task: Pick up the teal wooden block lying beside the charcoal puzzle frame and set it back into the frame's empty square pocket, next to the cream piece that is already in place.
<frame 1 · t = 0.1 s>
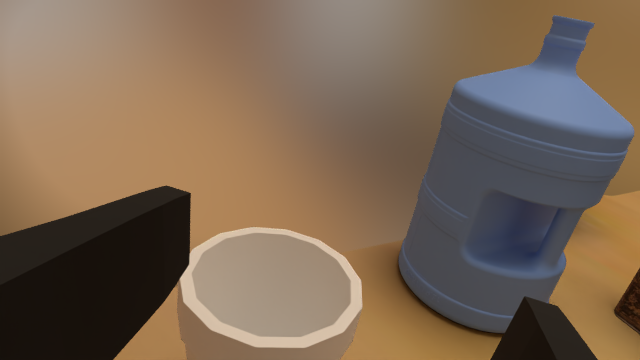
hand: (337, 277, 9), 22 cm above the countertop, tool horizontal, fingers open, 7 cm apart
water jug: (465, 285, 48), on the countertop
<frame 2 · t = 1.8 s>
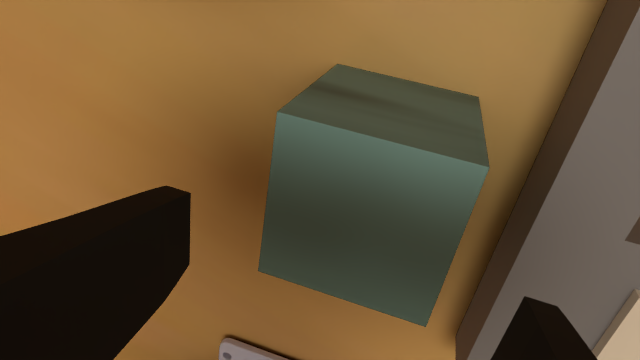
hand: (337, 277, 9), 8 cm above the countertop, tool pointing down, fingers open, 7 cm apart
block: (389, 144, 16), on the countertop
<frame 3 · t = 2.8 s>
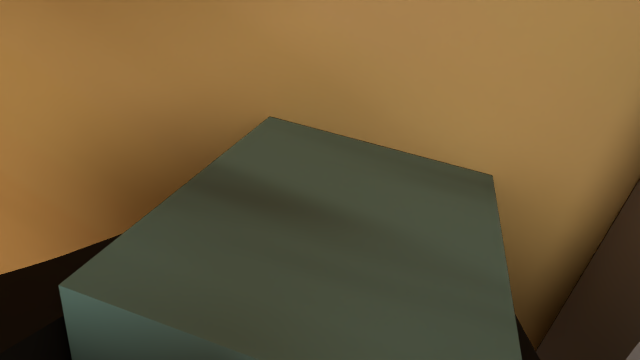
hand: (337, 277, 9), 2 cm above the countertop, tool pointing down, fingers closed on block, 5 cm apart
block: (353, 236, 11), on the countertop, touching gripper
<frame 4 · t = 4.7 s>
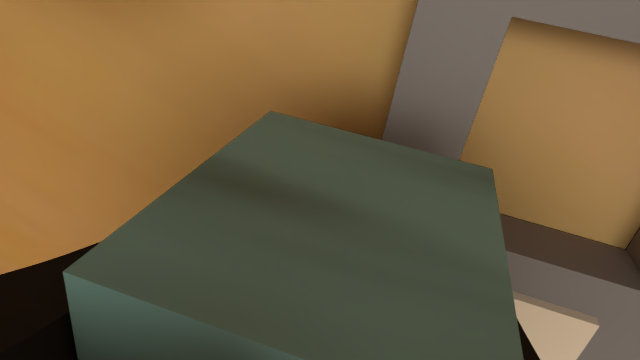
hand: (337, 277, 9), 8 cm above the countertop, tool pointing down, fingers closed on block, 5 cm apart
block: (353, 230, 11), point 7 cm above the countertop, touching gripper
frame: (527, 221, 16), on the countertop
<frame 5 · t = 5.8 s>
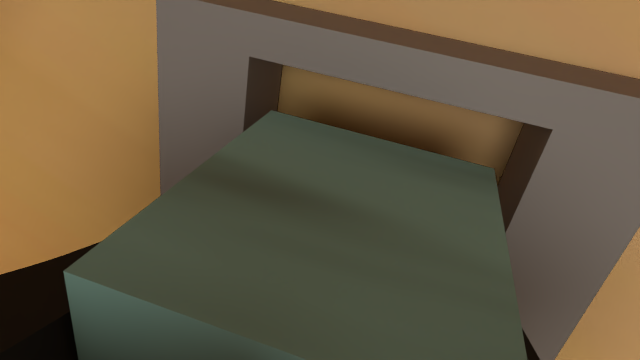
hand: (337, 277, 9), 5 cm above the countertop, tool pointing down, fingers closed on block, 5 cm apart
block: (354, 230, 11), point 3 cm above the countertop, touching gripper
frame: (353, 263, 15), on the countertop
when the fingers open (4 cm above the countertop, at t = 6.6 s): block drops 2 cm, resting in frame.
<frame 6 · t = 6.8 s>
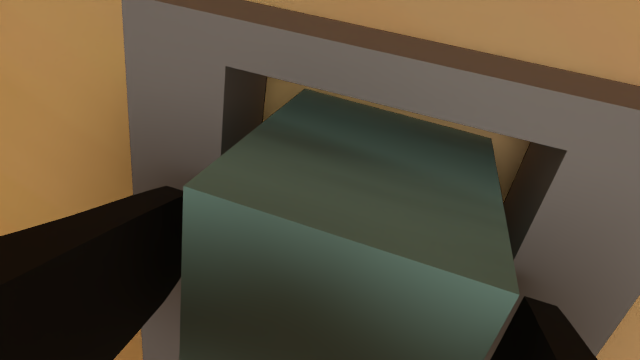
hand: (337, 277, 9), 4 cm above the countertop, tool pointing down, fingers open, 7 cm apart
block: (372, 192, 12), resting in frame
frame: (346, 285, 14), on the countertop
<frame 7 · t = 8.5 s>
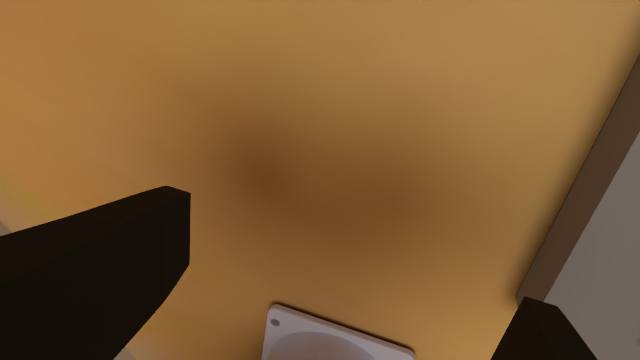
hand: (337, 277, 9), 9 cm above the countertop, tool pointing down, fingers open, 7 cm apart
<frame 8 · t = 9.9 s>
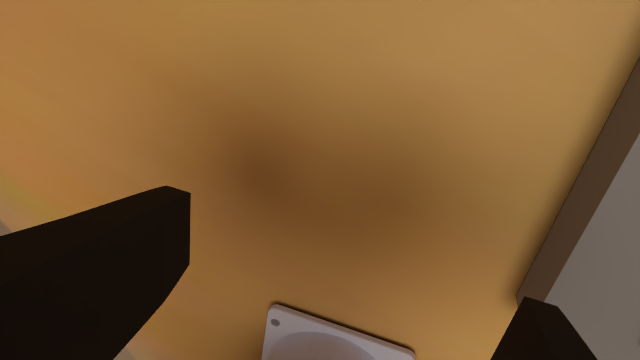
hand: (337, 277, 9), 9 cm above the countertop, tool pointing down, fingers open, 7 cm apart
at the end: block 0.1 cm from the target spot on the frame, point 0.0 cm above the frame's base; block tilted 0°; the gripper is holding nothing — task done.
